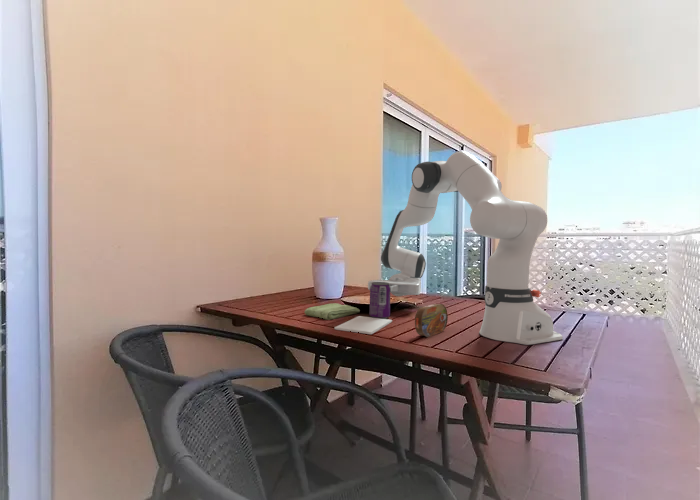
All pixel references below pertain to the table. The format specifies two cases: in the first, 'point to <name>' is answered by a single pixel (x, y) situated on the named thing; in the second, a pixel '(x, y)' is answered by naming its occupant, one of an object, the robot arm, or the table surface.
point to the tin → (431, 320)
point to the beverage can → (380, 300)
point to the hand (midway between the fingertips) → (387, 289)
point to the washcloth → (331, 311)
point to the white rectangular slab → (363, 325)
